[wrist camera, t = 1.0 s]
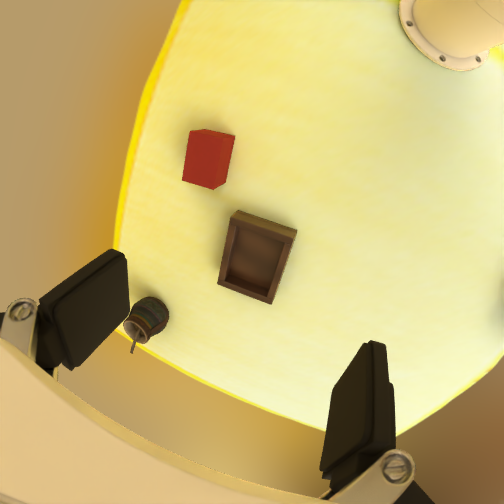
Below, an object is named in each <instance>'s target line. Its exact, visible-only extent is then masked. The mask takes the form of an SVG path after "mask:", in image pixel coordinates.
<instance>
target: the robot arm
mask: <svg viewBox="0 0 504 504" xmlns="http://www.w3.org/2000/svg"><path fill="white" fill-rule="evenodd" d="M399 17H400V20H401V24H402V26H403V28H404V31H405V33H406V34H407V36H408V37H409V39H410V40H411V41H412V43H413V44H414V45H415V46H416V47H417V49H419V50H420V51H421V52H422V53H423V54H424V55H425V56H426V57H428V58H429V59H431V60H432V61H433V62H435V63H437V64H439V65H441V66H443V67H446V68H448V69H451V70H456V71H468V70H472V69H475V68H477V67H479V66H481V65H482V64H483V63H484V62H485V60H486V59H487V57H488V54H489V49H490V48H493V47H495V46H498V45H501V44H503V43H504V0H400V4H399ZM407 24H409V25H410V26H408V25H407ZM440 58H441V59H442V61H441V60H440ZM476 60H477V61H476ZM39 302H40V305H38V306H37V305H36V302H35V301H34V300H32V299H30V298H20V299H17V300H15V301H14V302H12V303H11V304H10V305H9V306H8V308H7V310H6V312H3V313H0V504H435V503H434V502H433V501H432V500H431V499H430V498H429V497H428V496H427V495H426V493H425V492H424V491H423V490H422V489H421V488H420V487H419V486H418V485H417V483H416V482H415V481H414V480H413V479H414V477H415V473H416V465H415V462H414V459H413V458H412V457H411V456H410V454H408V453H407V452H405V451H403V450H400V449H396V427H395V401H394V388H393V384H392V383H390V382H389V374H388V362H387V351H386V345H385V344H383V343H379V342H376V341H372V340H370V341H369V342H368V343H363V344H362V346H361V347H360V349H359V351H358V352H357V354H356V355H355V357H354V358H353V360H352V361H351V363H350V364H349V366H348V367H347V369H346V370H345V372H344V373H343V375H342V376H341V377H340V379H339V380H338V382H337V383H336V385H335V386H334V388H333V390H332V394H331V401H330V409H329V415H328V422H327V428H326V435H325V440H324V446H323V452H322V457H321V462H320V471H323V475H322V479H328V480H331V481H330V488H331V489H329V490H328V491H327V492H325V493H324V494H323V495H321V496H320V497H318V498H313V497H309V496H304V495H299V494H295V493H290V492H286V491H282V490H278V489H273V488H270V487H267V486H263V485H259V484H256V483H253V482H249V481H246V480H243V479H239V478H236V477H233V476H230V475H227V474H225V473H222V472H219V471H216V470H213V469H211V468H208V467H206V466H203V465H201V464H198V463H196V462H193V461H191V460H189V459H186V458H184V457H182V456H179V455H177V454H175V453H173V452H171V451H169V450H166V449H164V448H162V447H160V446H158V445H156V444H154V443H152V442H150V441H149V440H146V439H145V438H143V437H141V436H139V435H137V434H136V433H134V432H132V431H130V430H128V429H127V428H125V427H123V426H122V425H120V424H118V423H117V422H115V421H113V420H112V419H110V418H109V417H107V416H105V415H104V414H102V413H101V412H99V411H98V410H96V409H95V408H93V407H92V406H90V405H89V404H87V403H86V402H84V401H83V400H82V399H80V398H79V397H77V396H76V395H75V394H73V393H72V392H71V391H69V390H68V389H67V388H65V387H64V386H63V385H61V384H60V383H59V382H58V366H59V364H60V363H61V362H62V364H63V365H64V366H65V367H66V368H68V369H69V370H71V371H72V370H73V369H74V368H75V367H78V366H80V365H81V364H82V363H83V362H84V361H85V360H86V359H87V358H88V357H89V356H90V355H91V354H92V353H93V352H94V350H95V349H96V348H97V347H98V346H99V345H100V344H101V343H102V342H103V341H104V340H105V339H106V338H107V337H108V336H109V335H110V334H111V333H112V332H113V331H114V330H115V329H116V328H117V327H118V326H119V325H120V324H121V323H122V322H123V321H124V320H125V319H126V318H127V316H128V315H129V312H130V302H129V288H128V270H127V259H126V258H125V255H124V254H123V253H121V252H119V251H117V250H114V249H110V250H108V251H106V252H104V253H103V254H102V255H100V256H98V257H97V258H96V259H94V260H93V261H91V262H90V263H89V264H87V265H85V266H84V267H83V268H81V269H80V270H78V271H77V272H75V273H74V274H73V275H71V276H70V277H68V278H67V279H66V280H64V281H63V282H62V283H60V284H59V285H57V286H56V287H55V288H53V289H52V290H51V291H50V292H48V293H47V294H45V295H44V296H43V297H41V298H40V299H39Z"/></svg>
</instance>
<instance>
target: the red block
mask: <svg viewBox="0 0 504 504" xmlns="http://www.w3.org/2000/svg"><path fill="white" fill-rule="evenodd" d="M234 140H235V136H233V135H229V134H224V133H220V132H216V131H211V130H206V129H202V130H194V131H190V133H189V139H188V145H187V151H186V157H185V163H184V170H183V177H182V181H186V182H189V183H192V184H196V185H199V186H202V187H206V188H209V189H212V190H214V189H215V188H217V187H219V186H220V185H222V184H224V183H225V182H226V178H227V173H228V168H229V163H230V159H231V154H232V149H233V145H234Z"/></svg>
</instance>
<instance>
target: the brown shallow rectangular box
mask: <svg viewBox="0 0 504 504" xmlns="http://www.w3.org/2000/svg"><path fill="white" fill-rule="evenodd" d="M296 234H297V230H295V229H292V228H289V227H286V226H283V225H280V224H277V223H274V222H272V221H269V220H266V219H263V218H260V217H257V216H254V215H251V214H248V213H245V212H242V211H239V210H238V211H237V212H236V213H234V214H233V215H232V216H231V218H230V224H229V228H228V232H227V237H226V242H225V247H224V252H223V257H222V262H221V267H220V272H219V277H218V282H217V284H218V285H221V286H223V287H226V288H229V289H231V290H234V291H236V292H239V293H241V294H244V295H247V296H249V297H252V298H255V299H257V300H260V301H263V302H265V303H268V304H272V302H273V300H274V297H275V295H276V292H277V289H278V287H279V284H280V281H281V278H282V275H283V272H284V269H285V266H286V264H287V261H288V258H289V255H290V252H291V249H292V246H293V243H294V240H295V237H296Z"/></svg>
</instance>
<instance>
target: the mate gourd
mask: <svg viewBox="0 0 504 504" xmlns="http://www.w3.org/2000/svg"><path fill="white" fill-rule="evenodd" d="M168 319H169V311H168V309H167V308H166V306H165V305H164V304H163V303H162V302H161V301H160V300H158V299H156V298H153V297H146V298H144V299H141V300H140V301H138V302H137V303H135V304H134V305H133V307H132V309H131V312H130V314H129V317H128V318H127V319H126V320H125V321H124V323H123V326H124V329H125V331H126V333H127V334H128V335H129V336H130V337H131V338H132V339H133V340H134V341H133V345H132V347H131V353H133V350H134V347H135V344H136V342H138V343H141V344H145V343H147V342H148V340H149V339H150V337H152V336H154V335H156V334H158V333H160V332H161V331H163V329H164V328H165V327H166V324H167V322H168Z"/></svg>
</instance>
